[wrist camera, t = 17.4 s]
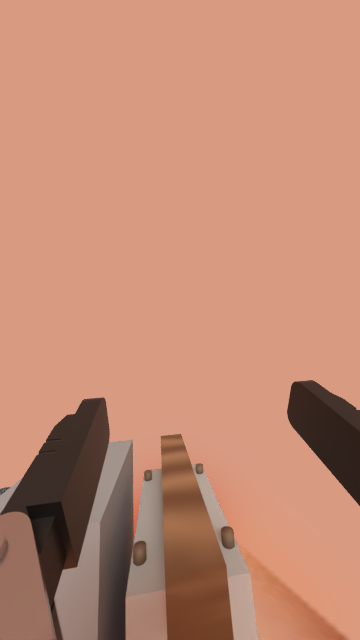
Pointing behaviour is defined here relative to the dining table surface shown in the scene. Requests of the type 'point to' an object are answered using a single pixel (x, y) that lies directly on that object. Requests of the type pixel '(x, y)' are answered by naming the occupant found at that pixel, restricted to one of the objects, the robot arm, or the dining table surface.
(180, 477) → the batten
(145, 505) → the stand
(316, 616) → the dining table surface
